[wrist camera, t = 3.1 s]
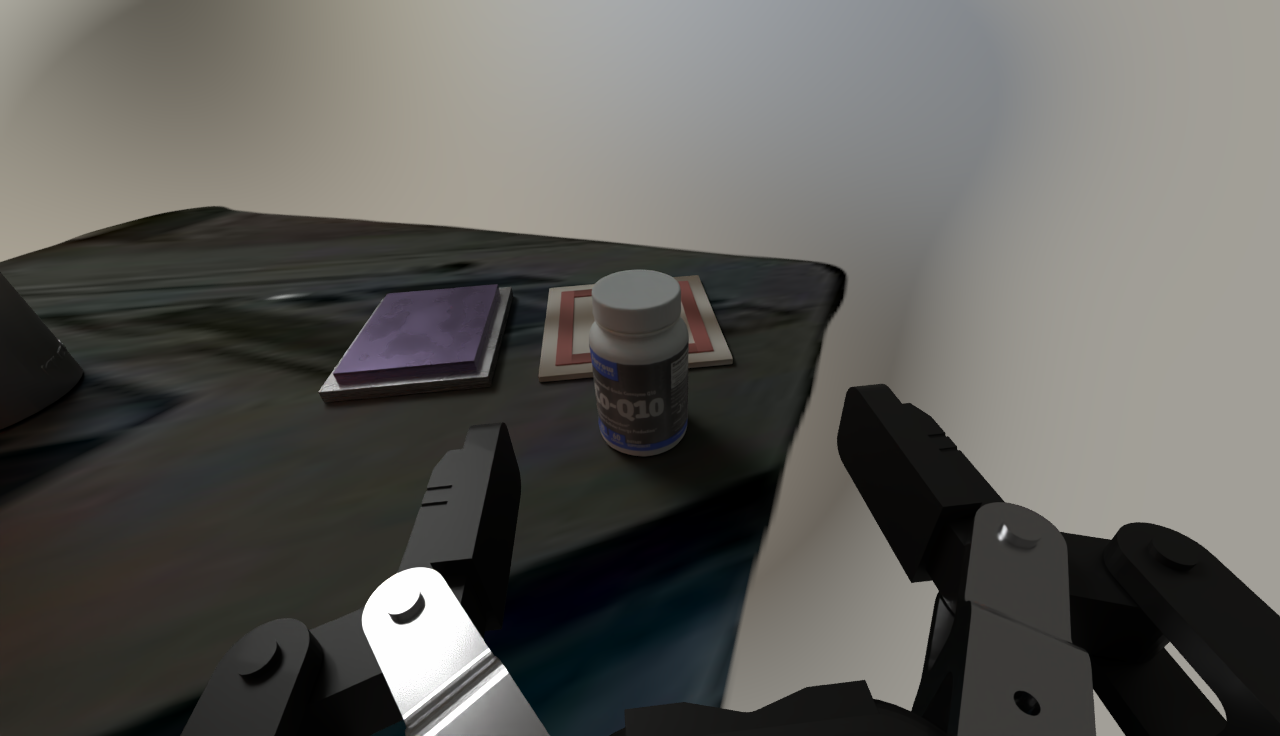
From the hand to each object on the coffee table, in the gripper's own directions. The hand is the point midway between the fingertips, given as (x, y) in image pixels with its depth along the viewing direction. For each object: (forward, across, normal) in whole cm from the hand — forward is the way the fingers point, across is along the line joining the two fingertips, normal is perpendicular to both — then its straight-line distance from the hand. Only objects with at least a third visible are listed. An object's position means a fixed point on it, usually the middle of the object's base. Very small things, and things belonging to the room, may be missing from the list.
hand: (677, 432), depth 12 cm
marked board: (+23, 0, +10) cm, 25 cm away
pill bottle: (+12, 0, +10) cm, 16 cm away
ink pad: (+23, +14, +10) cm, 28 cm away
